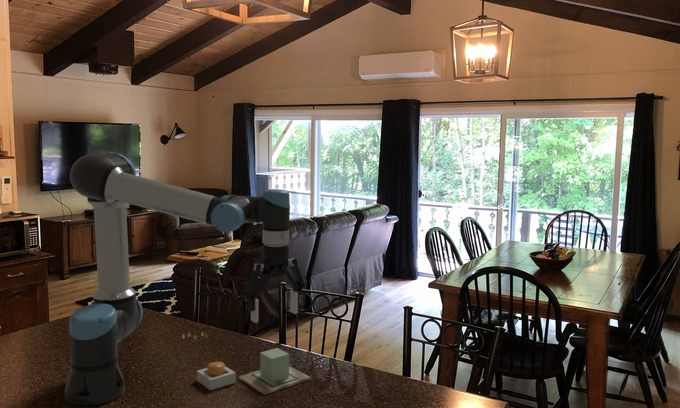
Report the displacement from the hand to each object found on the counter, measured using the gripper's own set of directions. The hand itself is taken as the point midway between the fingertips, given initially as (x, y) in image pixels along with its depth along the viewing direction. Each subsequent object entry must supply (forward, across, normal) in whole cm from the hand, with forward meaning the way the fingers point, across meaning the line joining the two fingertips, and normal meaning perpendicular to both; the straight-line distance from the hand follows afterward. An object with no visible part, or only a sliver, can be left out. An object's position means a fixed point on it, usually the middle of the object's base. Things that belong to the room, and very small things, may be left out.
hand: (274, 317), depth 165 cm
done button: (+17, -14, +9) cm, 24 cm away
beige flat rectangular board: (+19, 0, 0) cm, 19 cm away
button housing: (+19, -14, +9) cm, 25 cm away
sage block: (+18, 0, 0) cm, 18 cm away
